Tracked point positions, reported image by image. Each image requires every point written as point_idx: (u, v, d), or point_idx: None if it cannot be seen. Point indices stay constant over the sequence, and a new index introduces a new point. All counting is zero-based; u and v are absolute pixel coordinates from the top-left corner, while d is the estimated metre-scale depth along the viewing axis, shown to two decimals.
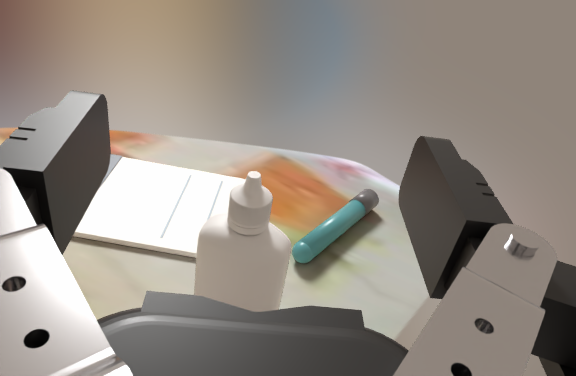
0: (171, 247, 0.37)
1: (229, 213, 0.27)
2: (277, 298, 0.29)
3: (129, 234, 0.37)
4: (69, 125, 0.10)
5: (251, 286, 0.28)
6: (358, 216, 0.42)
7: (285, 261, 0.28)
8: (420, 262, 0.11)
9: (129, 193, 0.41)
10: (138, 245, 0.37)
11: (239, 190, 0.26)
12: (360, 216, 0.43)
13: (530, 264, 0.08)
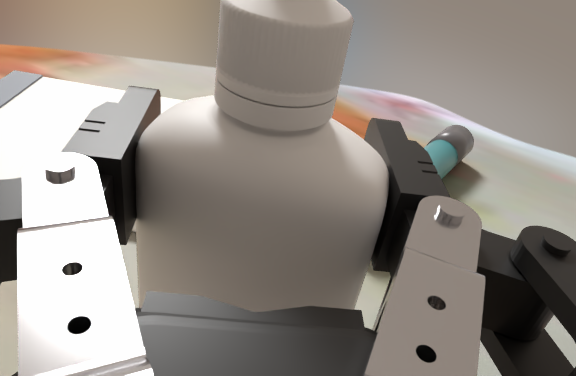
0: None
1: (220, 65, 0.09)
2: None
3: None
4: (135, 117, 0.10)
5: (284, 288, 0.10)
6: (449, 167, 0.24)
7: (382, 216, 0.10)
8: None
9: (43, 126, 0.23)
10: None
11: None
12: (451, 167, 0.25)
13: (454, 231, 0.09)
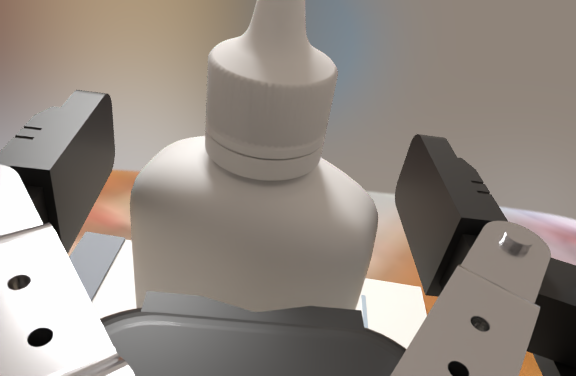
0: None
1: (209, 118, 0.09)
2: None
3: None
4: (75, 124, 0.10)
5: None
6: None
7: (369, 257, 0.10)
8: (416, 260, 0.11)
9: None
10: None
11: (238, 40, 0.09)
12: None
13: (524, 261, 0.08)
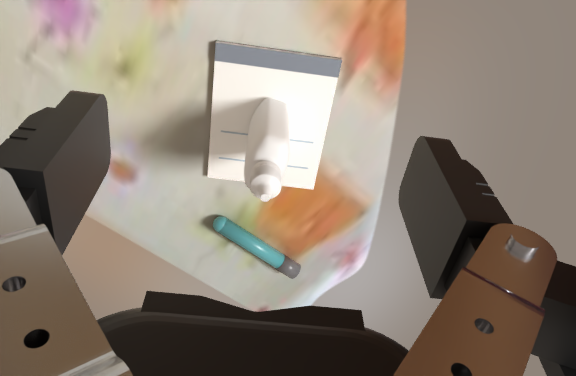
0: (211, 139, 0.46)
1: (260, 166, 0.37)
2: None
3: (220, 107, 0.44)
4: (69, 125, 0.10)
5: None
6: None
7: None
8: (420, 262, 0.11)
9: (275, 96, 0.43)
10: (211, 114, 0.45)
11: (264, 181, 0.36)
12: None
13: (530, 264, 0.08)
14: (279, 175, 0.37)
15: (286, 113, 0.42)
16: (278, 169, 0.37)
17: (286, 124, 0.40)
